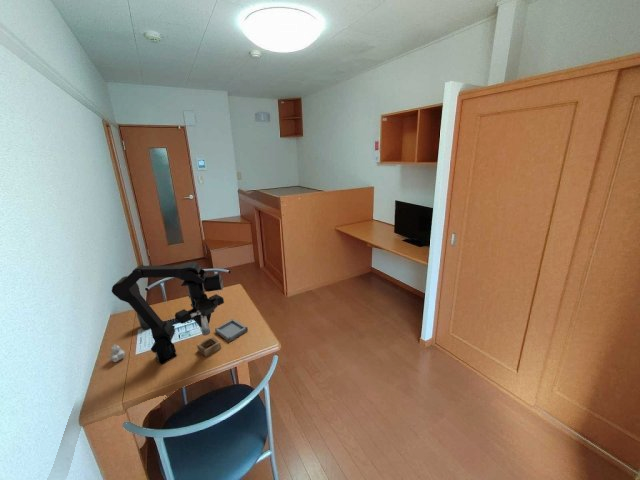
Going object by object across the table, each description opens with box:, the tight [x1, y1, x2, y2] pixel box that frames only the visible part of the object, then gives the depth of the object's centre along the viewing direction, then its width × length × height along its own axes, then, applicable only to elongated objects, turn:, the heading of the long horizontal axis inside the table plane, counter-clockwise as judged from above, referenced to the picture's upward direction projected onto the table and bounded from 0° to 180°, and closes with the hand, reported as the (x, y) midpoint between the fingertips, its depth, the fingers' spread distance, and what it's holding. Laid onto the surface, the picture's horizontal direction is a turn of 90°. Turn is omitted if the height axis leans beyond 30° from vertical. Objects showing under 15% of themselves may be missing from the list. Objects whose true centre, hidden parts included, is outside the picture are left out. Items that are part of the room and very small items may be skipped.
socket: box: [196, 336, 222, 358], centre depth 121 cm, size 7×7×3 cm
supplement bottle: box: [136, 313, 150, 330], centre depth 140 cm, size 7×7×12 cm
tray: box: [214, 318, 248, 343], centre depth 133 cm, size 10×12×2 cm
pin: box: [197, 311, 211, 336], centre depth 118 cm, size 3×3×10 cm
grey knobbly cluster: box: [108, 343, 126, 363], centre depth 118 cm, size 5×7×8 cm
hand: (204, 325), depth 118 cm, fingers closed on pin, 3 cm apart
